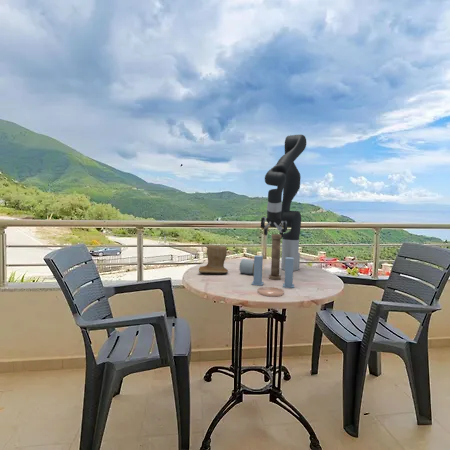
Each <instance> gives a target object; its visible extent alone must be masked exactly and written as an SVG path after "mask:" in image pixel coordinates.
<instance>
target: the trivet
mask: <svg viewBox="0 0 450 450" xmlns="http://www.w3.org/2000/svg"><path fill="white" fill-rule="evenodd" d="M256 292H258V293H259V294H258V293H257V294H258V295H261V296H263V297H271V298H273V297H274V298H275V297H277V298H278V297H282V296H284V295H285V290H284V289H282V288H278V287H274V286H273V287H272V286H261V287H259V288H257V291H256Z"/></svg>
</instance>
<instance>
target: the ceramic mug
mask: <svg viewBox="0 0 450 450" xmlns="http://www.w3.org/2000/svg"><path fill="white" fill-rule="evenodd" d="M239 273H240V274H245V275H250V276H251V275H253V276H254V259H253V260H251V259H246V258H242V259H241V260H240V263H239Z"/></svg>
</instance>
